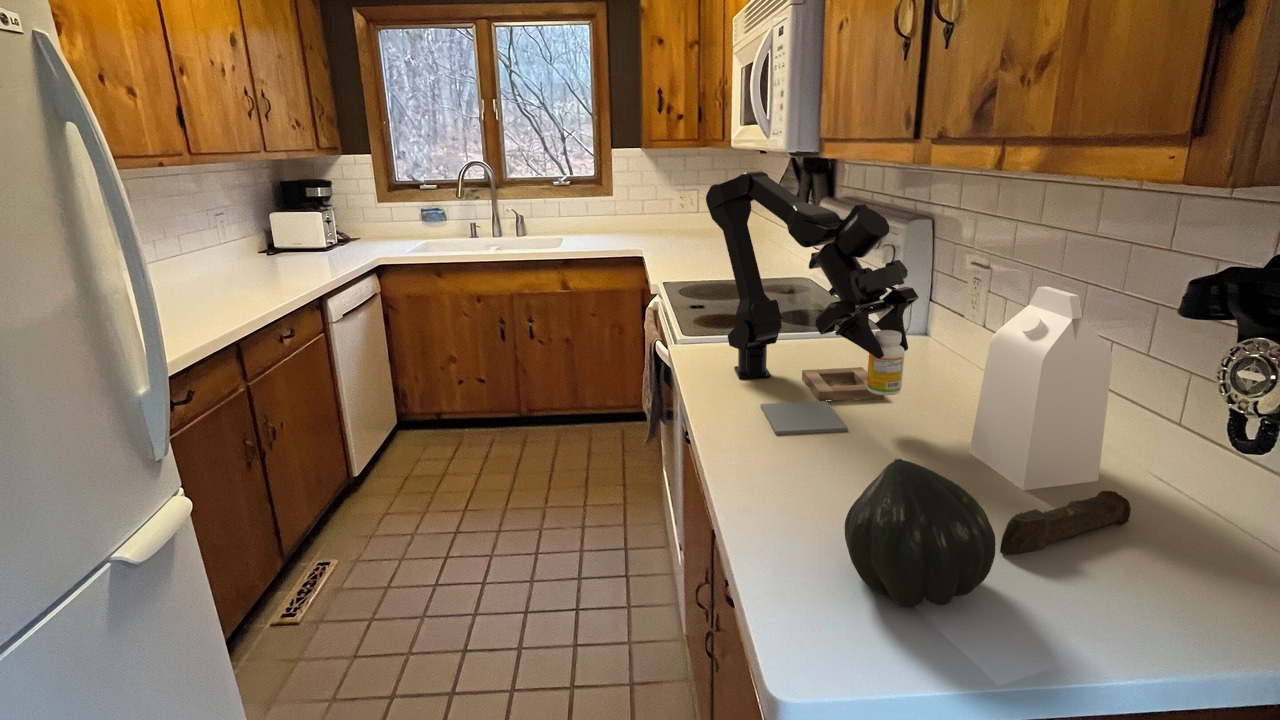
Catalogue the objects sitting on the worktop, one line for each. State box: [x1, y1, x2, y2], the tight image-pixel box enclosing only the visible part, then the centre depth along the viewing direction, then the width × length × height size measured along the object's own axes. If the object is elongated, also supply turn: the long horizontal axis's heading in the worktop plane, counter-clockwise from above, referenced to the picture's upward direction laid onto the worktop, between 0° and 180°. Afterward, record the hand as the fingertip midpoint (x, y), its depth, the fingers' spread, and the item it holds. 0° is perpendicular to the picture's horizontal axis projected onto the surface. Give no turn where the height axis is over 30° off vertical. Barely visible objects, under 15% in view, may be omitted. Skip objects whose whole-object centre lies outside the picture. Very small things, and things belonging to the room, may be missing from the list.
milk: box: [969, 285, 1113, 491], centre depth 97 cm, size 12×12×26 cm
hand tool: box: [999, 490, 1132, 555], centre depth 84 cm, size 19×4×5 cm, turn 109°
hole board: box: [801, 366, 885, 401], centre depth 133 cm, size 12×12×2 cm
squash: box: [844, 457, 997, 608], centre depth 75 cm, size 14×15×15 cm
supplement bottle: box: [867, 329, 906, 396], centre depth 112 cm, size 5×5×10 cm
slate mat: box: [760, 400, 849, 436], centre depth 120 cm, size 12×12×1 cm
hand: (893, 353), depth 111 cm, fingers closed on supplement bottle, 5 cm apart
